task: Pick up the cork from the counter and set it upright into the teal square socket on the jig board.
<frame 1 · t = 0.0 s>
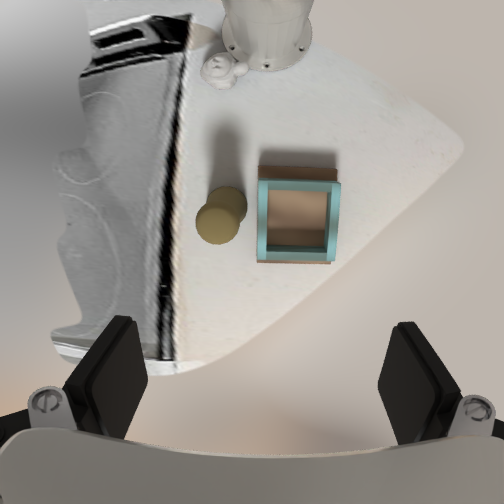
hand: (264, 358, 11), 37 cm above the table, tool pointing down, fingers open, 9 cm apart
rubber duck: (226, 74, 40), on the table
cork: (226, 206, 47), on the table
jig board: (295, 215, 46), on the table
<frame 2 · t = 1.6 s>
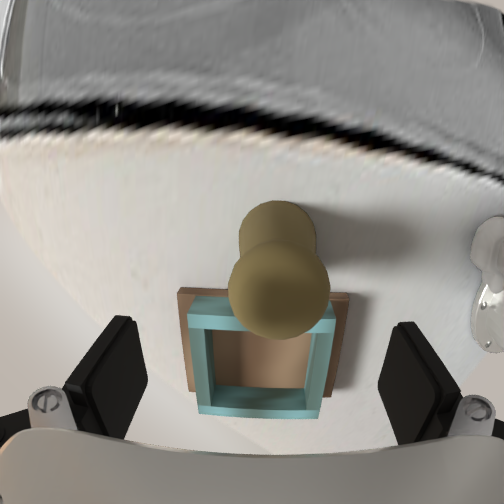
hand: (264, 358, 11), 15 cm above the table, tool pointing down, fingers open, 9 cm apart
rubber duck: (482, 245, 24), on the table
cork: (277, 238, 25), on the table
jig board: (261, 345, 28), on the table
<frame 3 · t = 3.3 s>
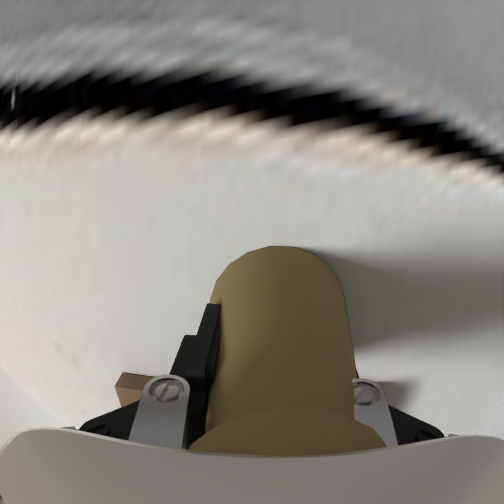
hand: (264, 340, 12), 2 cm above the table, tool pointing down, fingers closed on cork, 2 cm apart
cork: (277, 308, 14), on the table, touching gripper
jig board: (248, 445, 18), on the table
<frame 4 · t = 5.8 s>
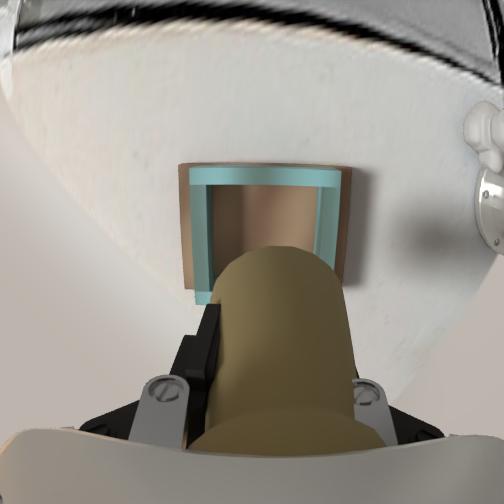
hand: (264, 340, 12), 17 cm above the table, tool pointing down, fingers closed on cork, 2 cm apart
rubber duck: (474, 135, 24), on the table
cork: (277, 308, 14), point 14 cm above the table, touching gripper
jig board: (264, 227, 28), on the table
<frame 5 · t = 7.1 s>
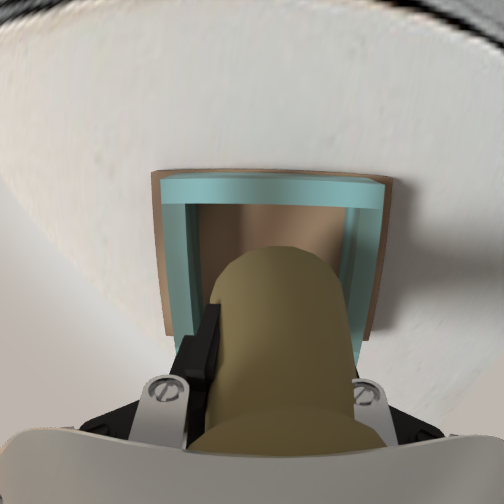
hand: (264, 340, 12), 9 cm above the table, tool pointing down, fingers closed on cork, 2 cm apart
cork: (277, 308, 14), point 6 cm above the table, touching gripper
jig board: (270, 257, 20), on the table
when the fingers open (5 cm above the table, at t = 8.2 s): cork drops 1 cm, resting on jig board.
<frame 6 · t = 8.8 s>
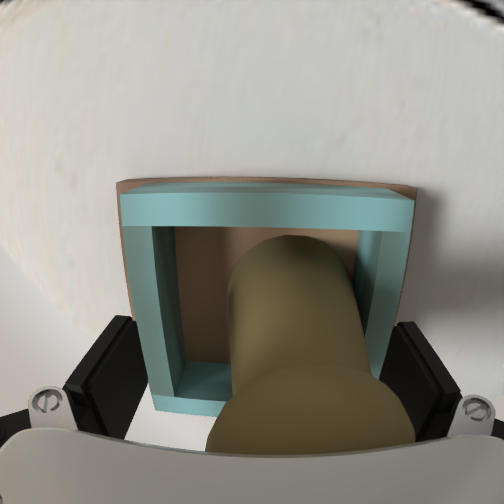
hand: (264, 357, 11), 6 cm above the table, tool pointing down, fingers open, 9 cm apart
cork: (289, 293, 16), point 1 cm above the table, touching jig board
jig board: (265, 285, 17), on the table
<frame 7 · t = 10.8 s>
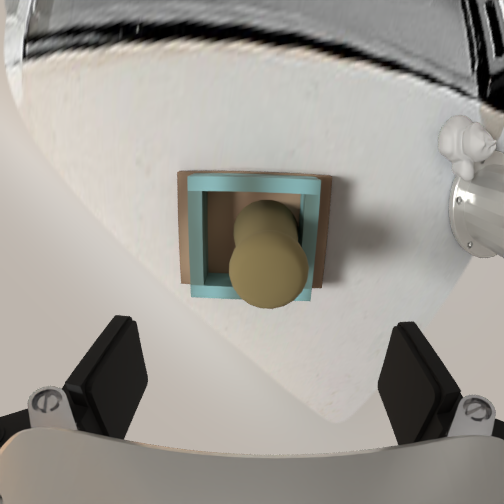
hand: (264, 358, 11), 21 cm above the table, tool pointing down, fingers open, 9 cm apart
rubber duck: (449, 146, 28), on the table
cork: (265, 231, 30), point 1 cm above the table, touching jig board
jig board: (253, 228, 31), on the table
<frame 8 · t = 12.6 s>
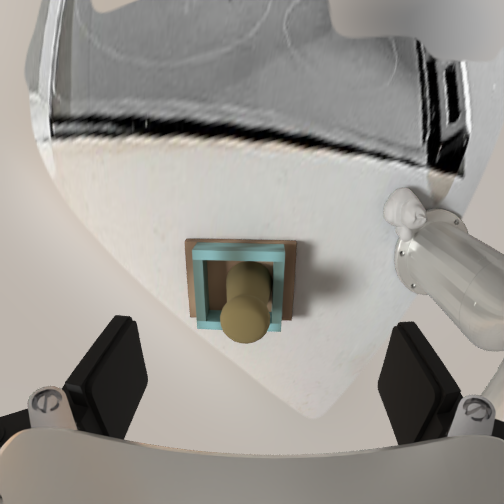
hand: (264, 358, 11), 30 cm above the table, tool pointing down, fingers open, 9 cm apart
rubber duck: (396, 209, 39), on the table
cork: (249, 281, 42), point 1 cm above the table, touching jig board
jig board: (240, 279, 43), on the table
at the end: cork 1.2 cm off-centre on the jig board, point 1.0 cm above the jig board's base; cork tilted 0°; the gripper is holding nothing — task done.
